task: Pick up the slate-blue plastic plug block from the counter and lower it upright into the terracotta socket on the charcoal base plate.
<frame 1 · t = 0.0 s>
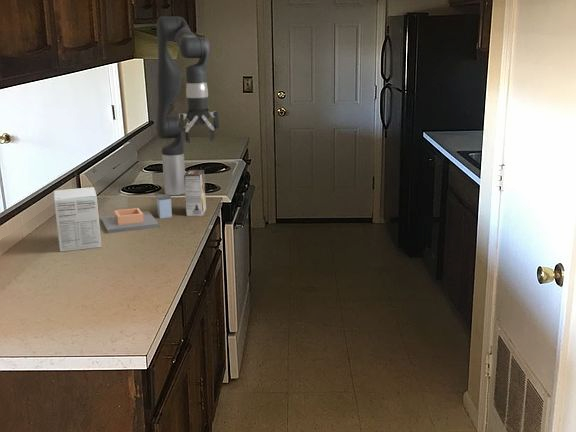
hand: (199, 141, 232), 29 cm above the countertop, tool pointing down, fingers open, 8 cm apart
socket dock: (129, 223, 237), on the countertop
supplement box: (80, 244, 215), on the countertop
coffee box: (196, 213, 250), on the countertop
plug: (164, 216, 246), on the countertop
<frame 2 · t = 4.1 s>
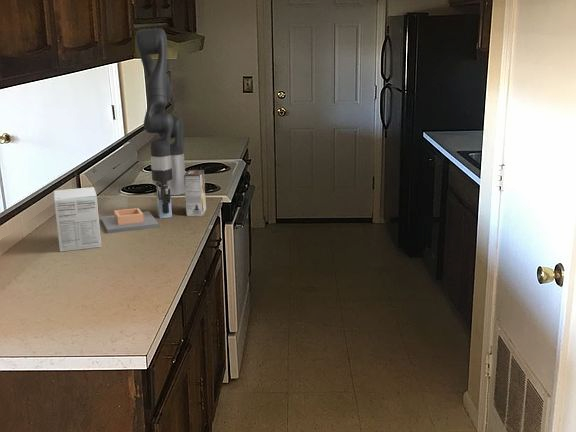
hand: (164, 211, 245), 2 cm above the countertop, tool pointing down, fingers closed on plug, 4 cm apart
plug: (164, 216, 246), on the countertop, touching gripper
everything else where it was.
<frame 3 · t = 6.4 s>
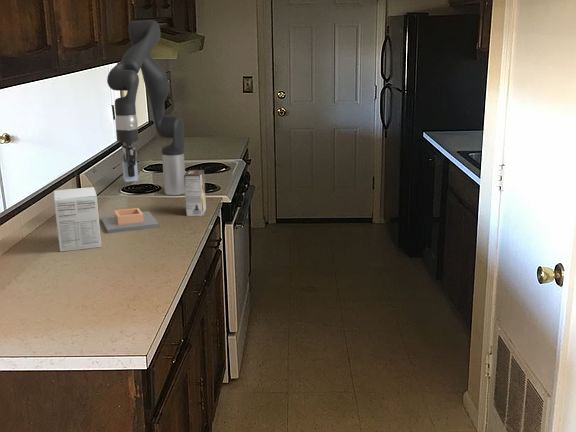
hand: (130, 174, 233), 18 cm above the countertop, tool pointing down, fingers closed on plug, 4 cm apart
plug: (130, 180, 233), point 16 cm above the countertop, touching gripper
everything else where it was.
when the fingers open (6 cm above the countertop, at t = 9.2 s): plug drops 3 cm, resting on socket dock.
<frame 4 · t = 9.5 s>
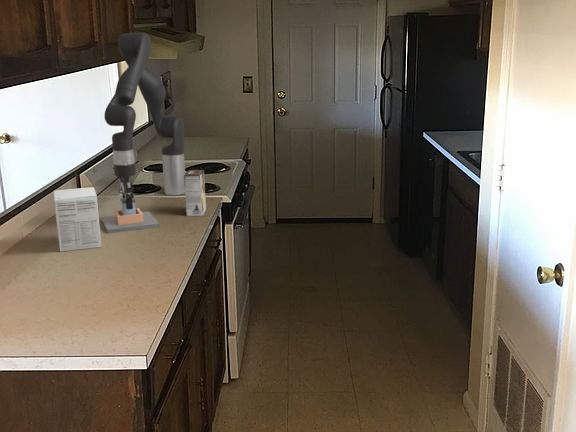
hand: (127, 206, 235), 6 cm above the countertop, tool pointing down, fingers open, 7 cm apart
plug: (129, 220, 237), point 1 cm above the countertop, touching socket dock
everything else where it was.
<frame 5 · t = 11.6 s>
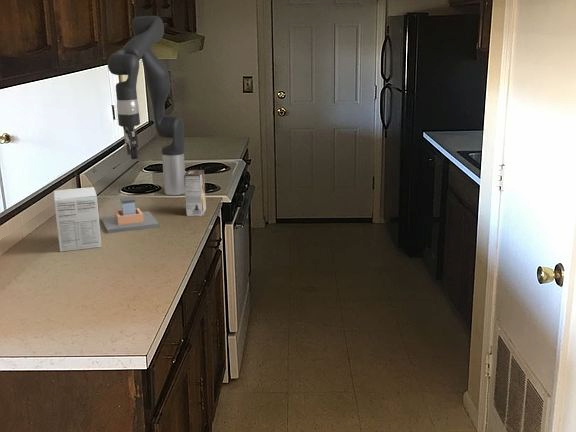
hand: (132, 156, 235), 24 cm above the countertop, tool pointing down, fingers open, 8 cm apart
nothing on the countertop moved.
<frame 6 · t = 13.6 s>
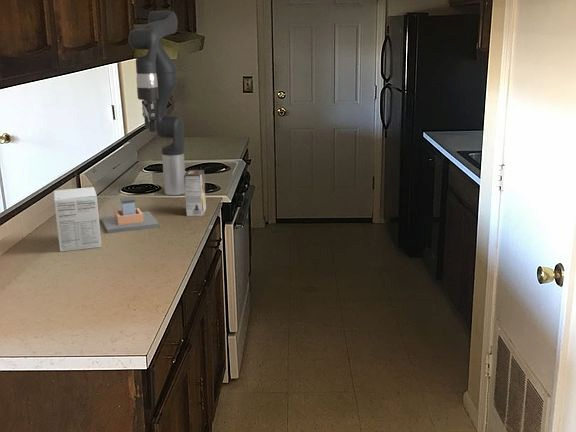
hand: (150, 130, 242), 32 cm above the countertop, tool pointing down, fingers open, 8 cm apart
nothing on the countertop moved.
at the end: plug 0.1 cm off-centre on the socket dock, point 1.2 cm above the socket dock's base; plug tilted 0°; the gripper is holding nothing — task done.
